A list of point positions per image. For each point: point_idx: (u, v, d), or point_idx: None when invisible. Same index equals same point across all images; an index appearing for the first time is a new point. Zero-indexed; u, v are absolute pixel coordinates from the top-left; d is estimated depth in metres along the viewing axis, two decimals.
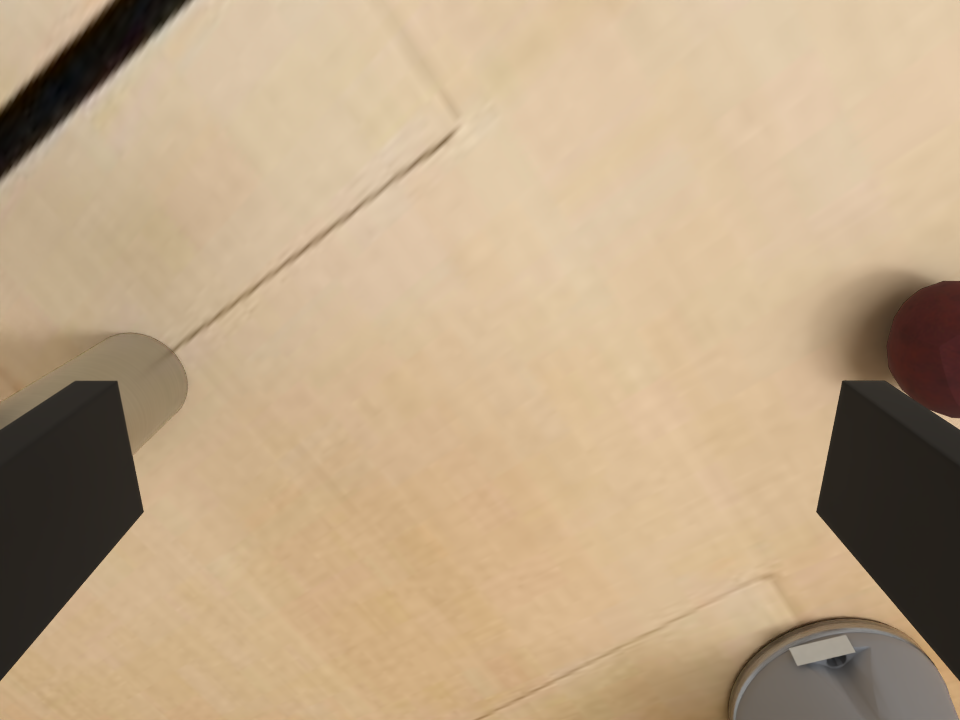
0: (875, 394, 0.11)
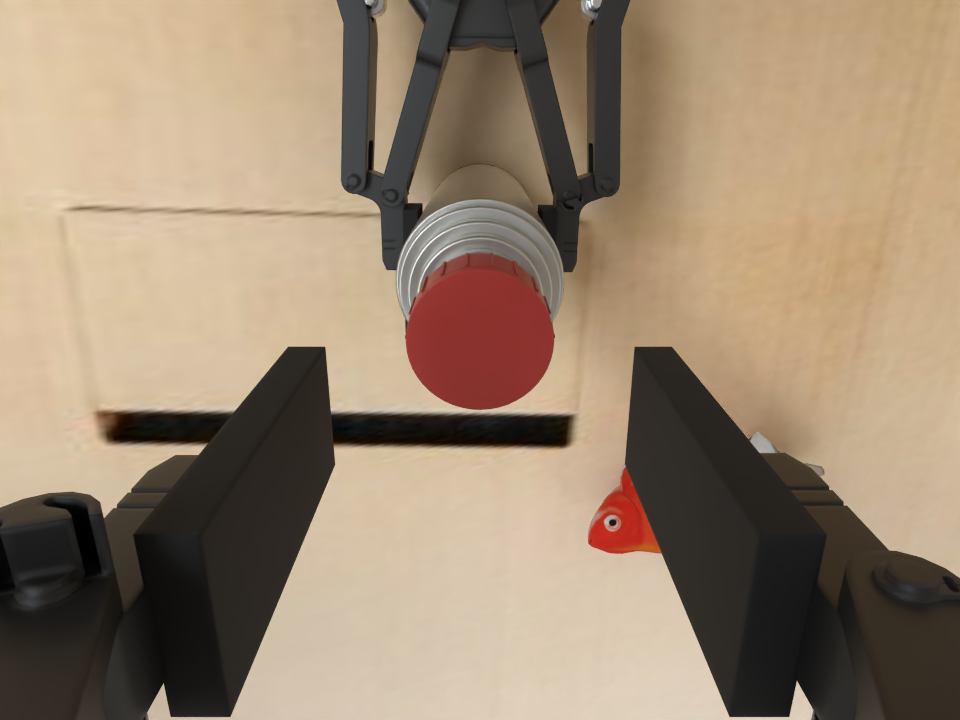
0: (653, 357, 0.13)
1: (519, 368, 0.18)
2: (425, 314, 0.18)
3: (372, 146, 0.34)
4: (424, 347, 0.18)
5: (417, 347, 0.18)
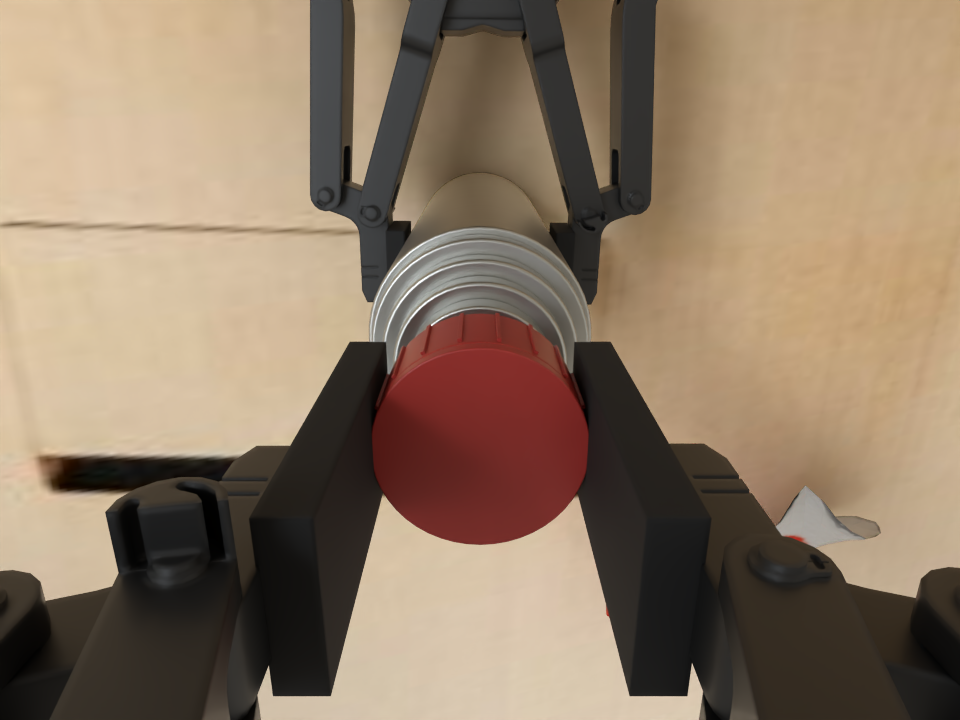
0: (590, 351, 0.13)
1: (538, 488, 0.12)
2: (398, 413, 0.12)
3: (349, 153, 0.28)
4: (397, 459, 0.12)
5: (387, 459, 0.12)
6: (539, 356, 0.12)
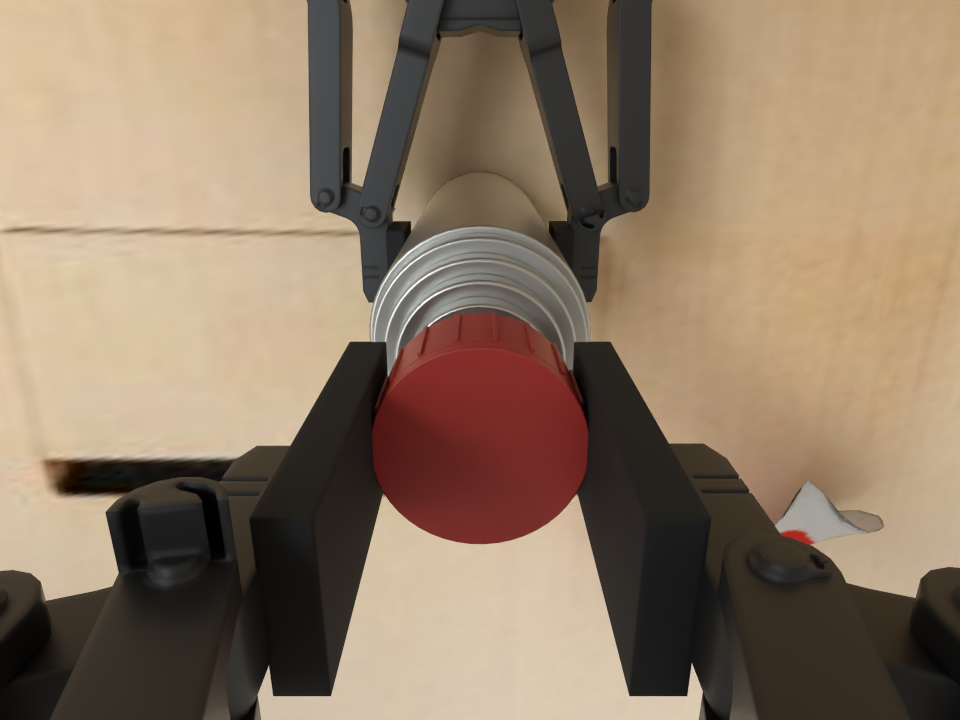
0: (590, 351, 0.13)
1: (483, 384, 0.12)
2: (485, 529, 0.13)
3: (349, 154, 0.28)
4: (528, 508, 0.13)
5: (534, 515, 0.13)
6: None
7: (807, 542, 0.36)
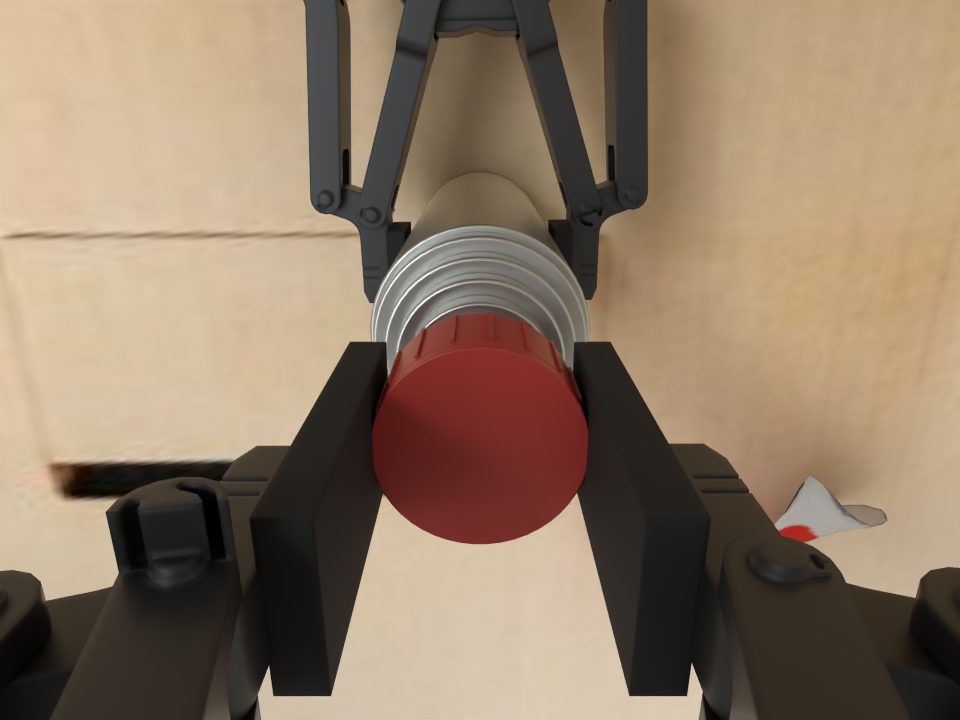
0: (590, 351, 0.13)
1: (417, 483, 0.12)
2: (556, 404, 0.12)
3: (348, 156, 0.28)
4: (510, 379, 0.12)
5: (515, 370, 0.12)
6: None
7: (810, 537, 0.36)
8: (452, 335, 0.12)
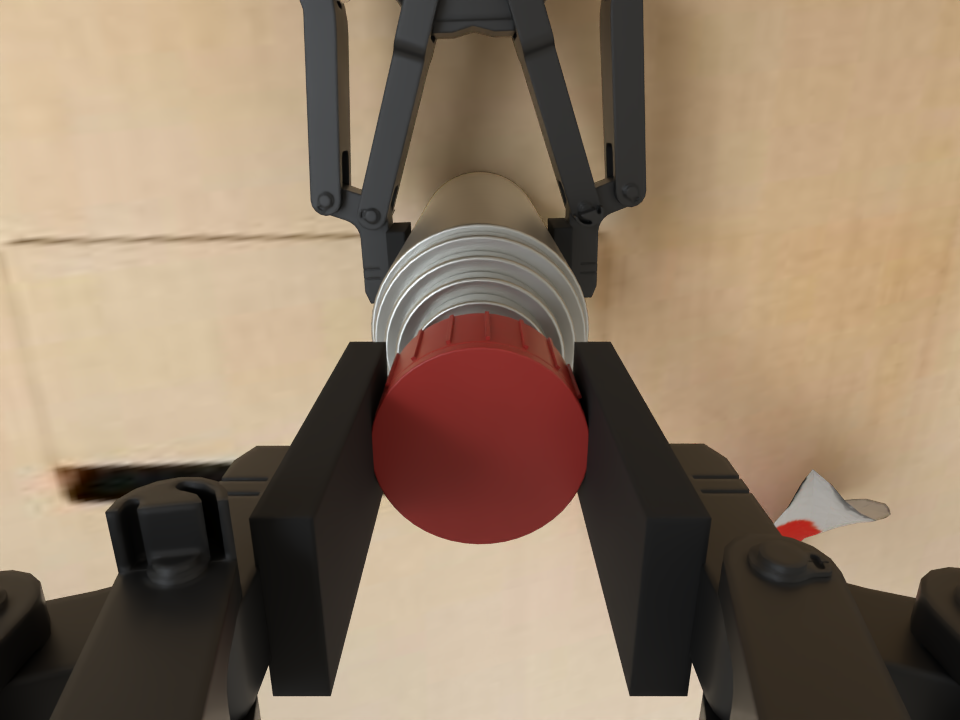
0: (590, 351, 0.13)
1: (542, 482, 0.12)
2: (394, 420, 0.12)
3: (347, 157, 0.28)
4: (399, 466, 0.12)
5: (389, 467, 0.12)
6: (529, 350, 0.12)
7: (814, 531, 0.36)
8: None
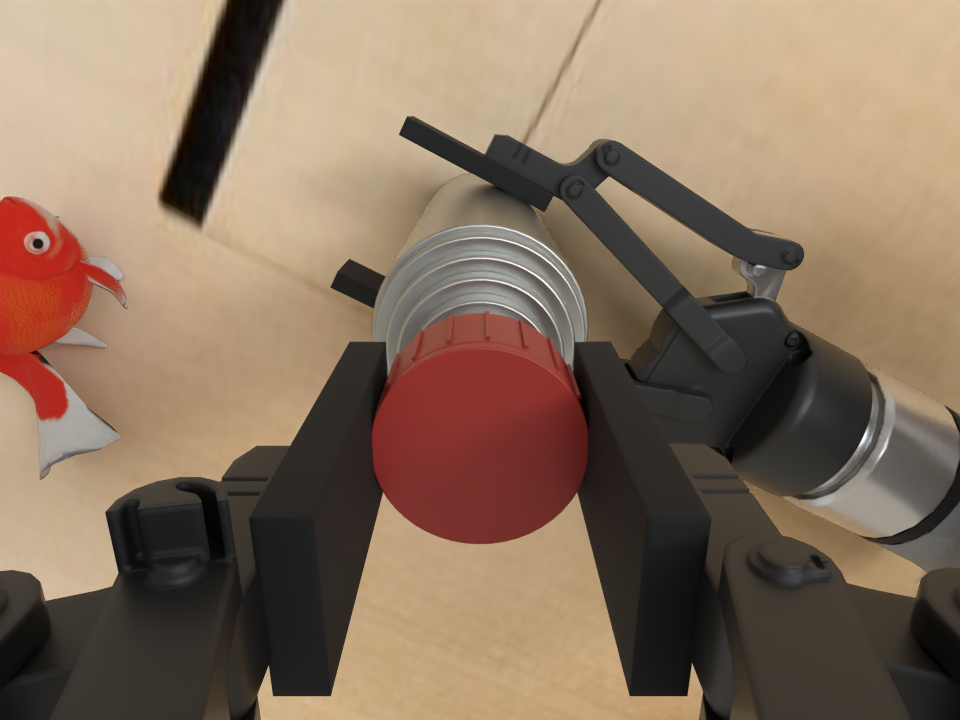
0: (590, 351, 0.13)
1: (542, 482, 0.12)
2: (395, 420, 0.12)
3: (625, 185, 0.29)
4: (399, 466, 0.12)
5: (389, 467, 0.12)
6: (529, 350, 0.12)
7: (43, 415, 0.34)
8: None
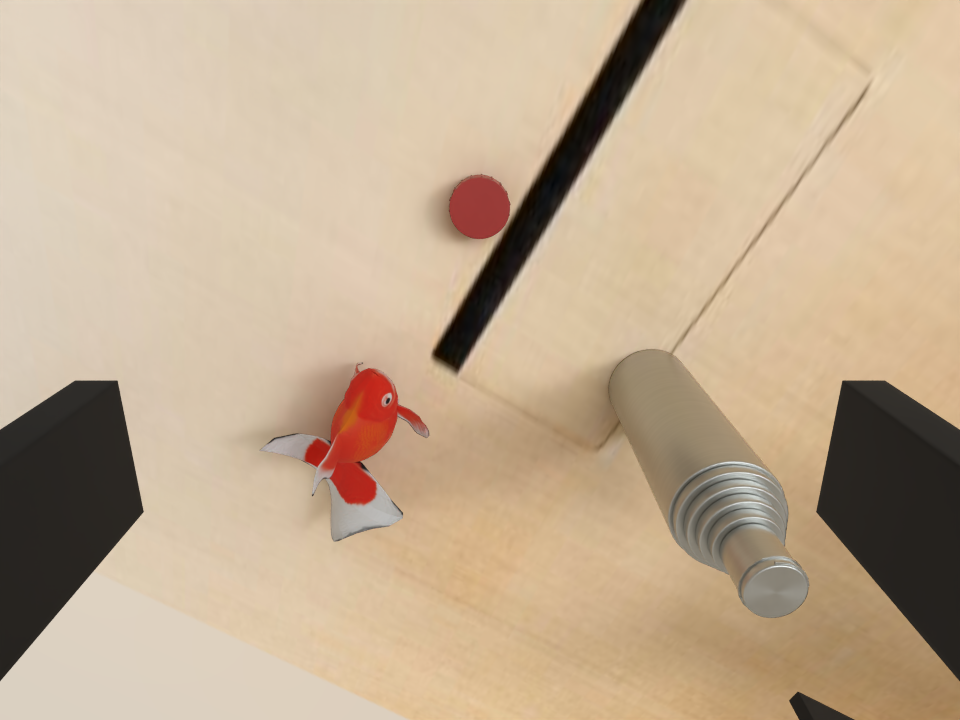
0: (875, 394, 0.11)
1: (496, 218, 0.45)
2: (456, 199, 0.44)
3: None
4: (457, 213, 0.45)
5: (454, 213, 0.45)
6: (492, 180, 0.44)
7: (351, 500, 0.49)
8: None
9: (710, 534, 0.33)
